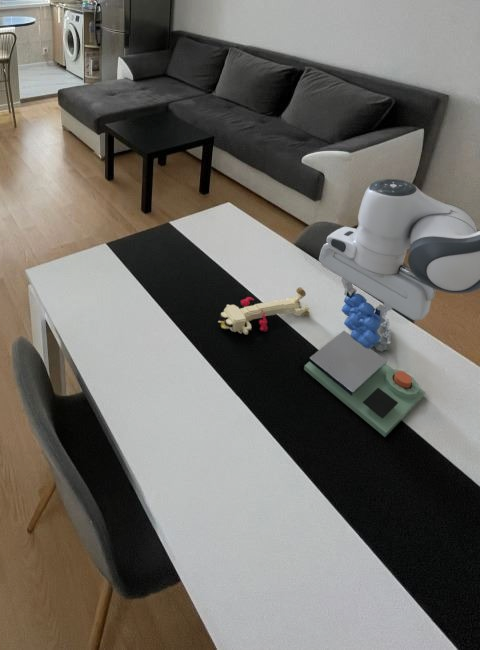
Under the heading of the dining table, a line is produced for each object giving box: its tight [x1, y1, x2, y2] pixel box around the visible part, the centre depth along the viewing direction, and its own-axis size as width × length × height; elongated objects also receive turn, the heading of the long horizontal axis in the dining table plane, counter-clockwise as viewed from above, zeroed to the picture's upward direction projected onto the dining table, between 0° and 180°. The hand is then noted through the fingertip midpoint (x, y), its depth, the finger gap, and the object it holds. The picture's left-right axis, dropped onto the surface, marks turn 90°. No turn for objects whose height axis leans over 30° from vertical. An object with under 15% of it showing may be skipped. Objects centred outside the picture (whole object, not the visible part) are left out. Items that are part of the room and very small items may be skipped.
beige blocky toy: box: [217, 287, 310, 335], centre depth 115 cm, size 10×9×25 cm
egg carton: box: [373, 315, 392, 353], centre depth 109 cm, size 11×8×4 cm
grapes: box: [341, 292, 382, 349], centre depth 92 cm, size 12×7×12 cm, turn 176°
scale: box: [303, 361, 426, 438], centre depth 98 cm, size 18×16×3 cm
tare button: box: [394, 370, 412, 389], centre depth 95 cm, size 3×3×2 cm
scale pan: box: [308, 330, 398, 419], centre depth 97 cm, size 16×14×1 cm
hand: (364, 304), depth 91 cm, fingers closed on grapes, 5 cm apart
